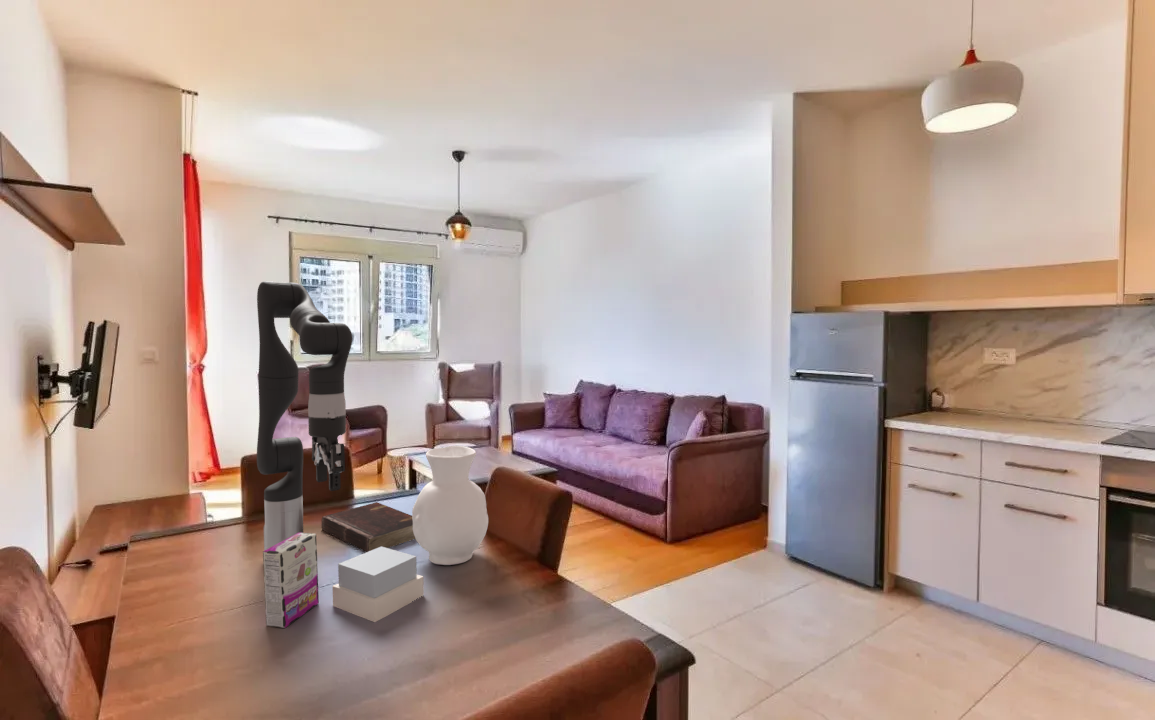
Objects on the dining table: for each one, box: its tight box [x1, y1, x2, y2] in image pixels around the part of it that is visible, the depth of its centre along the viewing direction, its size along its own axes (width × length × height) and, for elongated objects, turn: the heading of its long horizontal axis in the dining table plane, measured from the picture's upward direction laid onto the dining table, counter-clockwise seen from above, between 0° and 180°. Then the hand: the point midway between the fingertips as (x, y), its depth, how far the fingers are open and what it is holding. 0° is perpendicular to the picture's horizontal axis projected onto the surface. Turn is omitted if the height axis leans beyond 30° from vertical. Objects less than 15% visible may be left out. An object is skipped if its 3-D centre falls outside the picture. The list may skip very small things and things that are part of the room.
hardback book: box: [321, 501, 416, 553], centre depth 171 cm, size 29×19×5 cm, turn 49°
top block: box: [337, 546, 418, 598], centre depth 127 cm, size 12×12×5 cm
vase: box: [411, 445, 489, 566], centre depth 151 cm, size 19×21×30 cm
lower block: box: [332, 574, 425, 623], centre depth 128 cm, size 14×14×5 cm
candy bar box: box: [262, 532, 320, 629], centre depth 121 cm, size 11×5×16 cm, turn 168°
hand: (328, 485), depth 123 cm, fingers open, 8 cm apart
